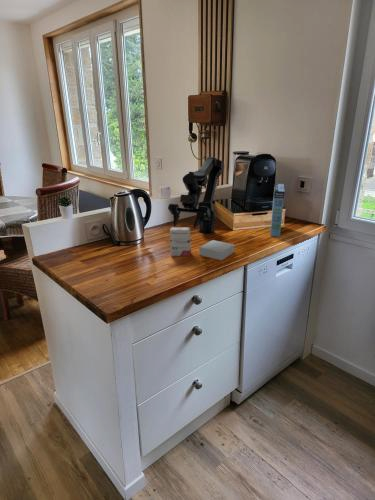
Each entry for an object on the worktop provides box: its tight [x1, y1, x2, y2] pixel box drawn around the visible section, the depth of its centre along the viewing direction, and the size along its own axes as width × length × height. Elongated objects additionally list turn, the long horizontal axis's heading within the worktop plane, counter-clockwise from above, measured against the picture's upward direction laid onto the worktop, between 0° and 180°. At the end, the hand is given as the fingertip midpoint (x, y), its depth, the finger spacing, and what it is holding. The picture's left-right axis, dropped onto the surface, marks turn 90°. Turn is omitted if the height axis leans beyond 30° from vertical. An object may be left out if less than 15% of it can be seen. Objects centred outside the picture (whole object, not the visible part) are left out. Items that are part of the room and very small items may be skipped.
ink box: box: [169, 226, 192, 257], centre depth 146 cm, size 9×5×12 cm, turn 84°
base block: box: [198, 239, 235, 261], centre depth 148 cm, size 11×11×4 cm
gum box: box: [270, 183, 286, 238], centre depth 172 cm, size 20×5×23 cm, turn 166°
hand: (184, 227), depth 148 cm, fingers open, 9 cm apart
